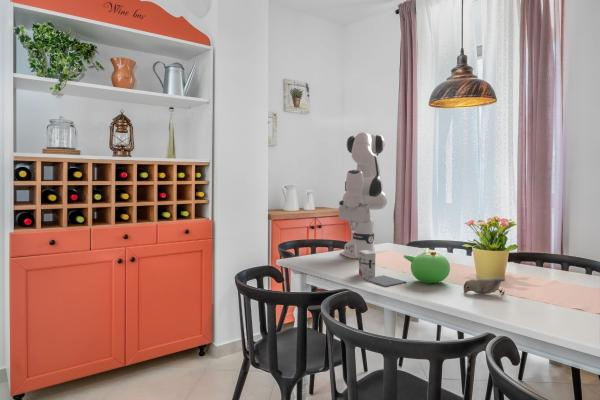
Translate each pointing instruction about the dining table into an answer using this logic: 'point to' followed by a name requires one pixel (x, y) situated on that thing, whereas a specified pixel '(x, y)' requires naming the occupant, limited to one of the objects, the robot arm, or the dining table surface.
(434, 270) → the green teapot
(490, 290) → the decorative bird
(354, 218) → the robot arm
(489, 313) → the dining table surface
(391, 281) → the mat
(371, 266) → the ink box
